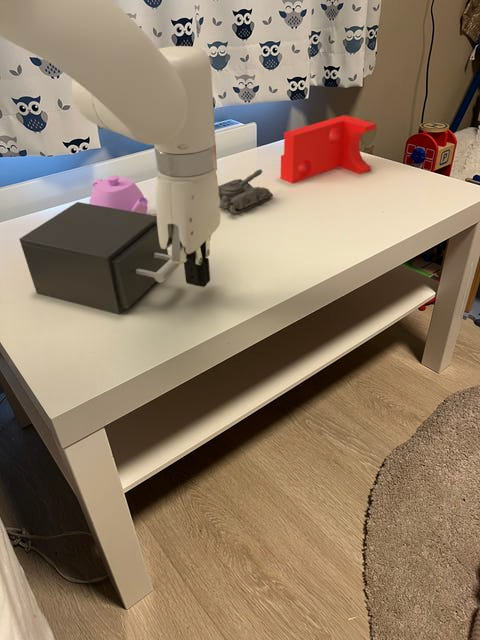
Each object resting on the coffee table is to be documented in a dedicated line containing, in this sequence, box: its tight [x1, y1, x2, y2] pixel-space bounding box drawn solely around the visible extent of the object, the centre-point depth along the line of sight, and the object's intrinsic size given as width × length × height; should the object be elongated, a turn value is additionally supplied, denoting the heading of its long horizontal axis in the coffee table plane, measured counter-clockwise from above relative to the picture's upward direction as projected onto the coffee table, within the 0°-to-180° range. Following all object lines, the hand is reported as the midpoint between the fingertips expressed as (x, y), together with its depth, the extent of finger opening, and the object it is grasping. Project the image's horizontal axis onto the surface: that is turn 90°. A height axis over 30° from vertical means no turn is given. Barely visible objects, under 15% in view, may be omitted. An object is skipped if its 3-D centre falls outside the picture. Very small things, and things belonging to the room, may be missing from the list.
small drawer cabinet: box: [19, 201, 157, 315], centre depth 82 cm, size 16×14×10 cm
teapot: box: [88, 175, 149, 214], centre depth 97 cm, size 10×15×9 cm
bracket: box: [280, 114, 377, 184], centre depth 114 cm, size 18×10×10 cm
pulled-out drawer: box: [111, 224, 181, 310], centre depth 80 cm, size 19×12×8 cm, turn 66°
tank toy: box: [218, 168, 274, 215], centre depth 105 cm, size 12×10×5 cm
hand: (198, 282), depth 76 cm, fingers closed
